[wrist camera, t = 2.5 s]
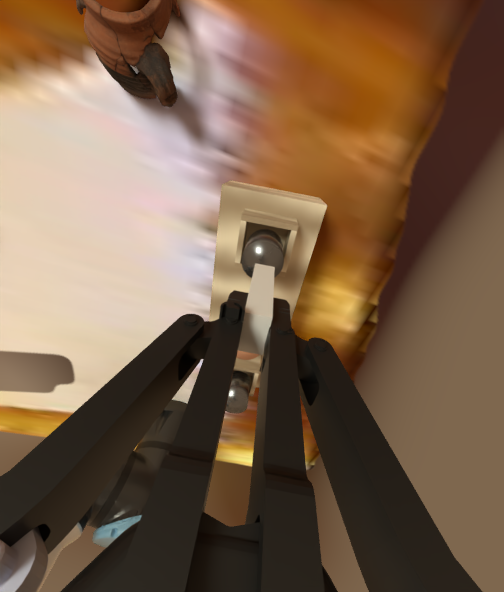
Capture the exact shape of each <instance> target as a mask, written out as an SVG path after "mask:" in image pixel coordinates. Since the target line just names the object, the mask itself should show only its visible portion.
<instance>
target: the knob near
mask: <svg viewBox="0 0 504 592" xmlns="http://www.w3.org/2000/svg"><path fill="white" fill-rule="evenodd" d="M255 263H257V264H262V265H267V266H272V267H275V272H274V278H275V277H276V276H277V275H278V274H279V273H280V272H281V270H282V268H283V264H284V259H283V244H282V240H281V238H280V237H279V235H278V234H277V233H275V232H274V231H272V230H269V229H260V230H257V231H255V232H254V233H252V234H251V235H250V237H249V239H248V241H247V244H246V246H245V249H244V252H243V255H242V258H241V264H242V268H243V270H244V272H245V273H246V274H247V275H248V276H249V277H250V278H252V276H253V271H254V267H255Z"/></svg>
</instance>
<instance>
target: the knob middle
mask: <svg viewBox="0 0 504 592" xmlns="http://www.w3.org/2000/svg"><path fill="white" fill-rule="evenodd" d="M258 356H259V354H254V353H248V352H243V351H238V352H237V357H236V358H239V359H242V360H251V359H254V358H256V357H258Z"/></svg>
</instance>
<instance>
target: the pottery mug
mask: <svg viewBox="0 0 504 592" xmlns="http://www.w3.org/2000/svg"><path fill="white" fill-rule="evenodd" d="M76 1H77V9H78V11H79V13H80V14H81V15H82V14H83V8H86V13H85V20H84V30H85V32H86V34H87V37H88V40H89V43H90V44H91V46H92V47H93V49H94V50H95V51H96V54H97V56H98V58H99V60H100V61H101V63H102V64H103V66H104V67H105V69H106V70H107V71H108V72H109V74H110V75H111V76H112V77H113V78H114V79H115V80H116V81H117V82H118V83H119V84H120V85H121V86H122V87H123V88H124V89H125V90H126V91H128V92H129V93H130V94H132V95H134V96H137V97H139V98H144V99H146V98H147V99H151V98H156V95H157V96H158V98H159V100H160V102H161V104H162V105H163V106H168V107H172V106H173V104H175V102H176V100H177V91H176V87H175V84H174V81H173V75H172V73H171V70H170V68H171V66H170V62H169V56H168V54H167V53H166V52H165V51H164V49H163V48H162V46H161V45H159V44H158V43H151V40H152V37H153V35H154V34H155V35H156V36H157V37H158V38H159V39H162V38H163V36H164V33H165V30H166V27H167V26H168V23H169V19H170V14H171V9H172V10H173V11H174V13H175V14H176V15H177V16H180V12H179V7H178V5H177V2H176V0H150V1H149V2H148V3H147V4H146V5H145V6H144V7H143V8H142V9H141V10H138V11H135V12H127V13H126V12H116V11H112V10H110V9H107V8H105V7H102V6H101V5H100V4H99V3H98V2H96V1H95V0H76ZM130 65H131V66H134V67H135V66H136V67H137V69H138V71H139V73H138V74H136V73H135V71H134V70H133V69H132V67H131V66H130ZM155 94H156V95H155Z"/></svg>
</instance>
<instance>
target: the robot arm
mask: <svg viewBox="0 0 504 592" xmlns="http://www.w3.org/2000/svg"><path fill="white" fill-rule="evenodd" d="M274 272H275V267H272V266H267V265H262V264H257V263H255V267H254V271H253V276H252V280H251V285H250V289H249V293H245V292H240V291H235V290H234V291H233V292H231V293H230V294H229V297H228V300H227V302H224V303H222V304H221V306H220V314H219V319H217V320H215V321H206V322H204V320H203V318H202V317H200V316H199V315H195V314H186V315H183V316H181V317H180V318H179V319H178V320H177V321H175V322H174V323H173V324H172V325H171V326H170V327H169V328H168V329H167V330H165V331H164V332H163V333H162V334H161V335H160V336H159V337H158V338H157V339H155V340H154V341H153V342H152V343H151V344H150V345H149V346H148V347H147V348H145V349H144V350H143V351H142V352H141V353H140V354H139V355H138V356H137V357H135V358H134V359H133V360H132V361H131V362H130V363H129V364H128V365H127V366H125V367H124V368H123V369H122V370H121V371H120V372H119V373H118V374H117V375H115V376H114V377H113V378H112V379H111V380H110V381H109V382H108V383H107V384H105V385H104V386H103V387H102V388H101V389H100V390H99V391H98V392H97V393H95V394H94V395H93V396H92V397H91V398H90V399H89V400H88V401H87V402H85V403H84V404H83V405H82V406H81V407H80V408H79V409H78V410H77V411H75V412H74V413H73V414H72V415H71V416H70V417H69V418H68V419H67V420H65V421H64V422H63V423H62V424H61V425H60V426H59V427H58V428H57V429H55V430H54V431H53V432H52V433H51V434H50V435H49V436H48V437H47V438H45V439H44V440H43V441H42V442H41V443H40V444H39V445H38V446H37V447H35V448H34V449H33V450H32V451H31V452H30V453H29V454H28V455H27V456H26V457H24V458H23V459H22V460H21V461H20V462H19V463H18V464H17V465H15V466H14V467H13V468H12V469H11V470H10V471H8V472H7V473H5V474H4V475H2V476H0V592H39V590H40V589H41V587H42V585H43V583H44V581H45V579H46V578H47V576H48V574H49V572H50V570H51V568H52V566H53V565H54V563H55V561H56V559H57V557H58V555H59V553H60V552H61V550H62V549H63V548H64V547H66V546H67V545H69V544H70V543H72V542H73V541H75V540H76V539H78V538H79V537H80V535H81V534H82V532H83V530H84V528H85V526H86V525H89V526H92V527H94V528H96V530H95V531H94V533H93V542H94V543H95V544H98V545H100V546H102V547H106V549H105V550H103V552H102V553H100V554H99V555H98V556H97V557H96V558H95V559H94V560H93V561H92V562H91V563H90V564H89V565H88V566H87V567H86V568H85V569H84V570H83V571H82V572H80V573H79V574H78V575H77V576H76V577H75V578H74V579H73V580H72V581H71V582H70V583H69V584H68V585H67V586H66V587H65V588H64V589H63V590H62V591H61V592H338V591H337V590H336V588H335V586H334V584H333V582H332V580H331V578H330V577H329V575H328V573H327V572H326V570H325V569H324V567H323V566H322V564H321V563H322V562H321V554H320V544H319V533H318V524H317V514H316V503H315V495H314V489H313V486H312V483H311V482H310V481H309V480H308V478H307V475H306V465H305V453H304V441H303V428H302V416H301V404H300V396H301V399H302V402H303V405H304V407H305V410H306V413H307V416H308V419H309V422H310V425H311V428H312V431H313V434H314V437H315V440H316V442H317V445H318V448H319V451H320V454H321V457H322V460H323V463H324V466H325V469H326V471H327V474H328V477H329V480H330V483H331V486H332V489H333V492H334V495H335V498H336V501H337V504H338V507H339V510H340V512H341V515H342V518H343V521H344V524H345V527H346V530H347V533H348V536H349V539H350V542H351V545H352V547H353V550H354V553H355V556H356V559H357V562H358V564H359V567H360V570H361V572H362V575H363V577H364V580H365V583H366V585H367V588H368V590H369V592H482V591H481V589H480V588H479V587H478V586H477V585H476V583H475V582H474V581H473V580H472V578H471V577H470V576H469V575H468V574H467V572H466V571H465V570H464V569H463V567H462V566H461V565H460V564H459V562H458V561H457V560H456V559H455V558H454V556H453V554H452V553H451V551H450V549H449V547H448V546H447V544H446V542H445V540H444V539H443V537H442V535H441V533H440V532H439V530H438V528H437V527H436V525H435V524H434V522H433V520H432V518H431V516H430V515H429V513H428V511H427V509H426V508H425V506H424V504H423V502H422V501H421V499H420V497H419V496H418V494H417V492H416V490H415V489H414V487H413V485H412V483H411V482H410V480H409V478H408V477H407V475H406V473H405V471H404V470H403V468H402V466H401V465H400V463H399V461H398V459H397V458H396V456H395V454H394V452H393V451H392V449H391V448H390V446H389V444H388V442H387V441H386V439H385V437H384V435H383V434H382V432H381V430H380V428H379V427H378V425H377V423H376V421H375V420H374V418H373V416H372V415H371V413H370V411H369V410H368V408H367V406H366V404H365V403H364V401H363V399H362V397H361V396H360V394H359V392H358V391H357V389H356V387H355V385H354V384H353V382H352V380H351V378H350V377H349V375H348V373H347V372H346V370H345V368H344V366H343V365H342V363H341V361H340V359H339V358H338V356H337V354H336V353H335V351H334V349H333V347H332V346H331V345H330V344H329V343H328V342H327V341H325V340H323V339H321V338H311V339H309V341H305V340H303V339H301V338H299V337H297V336H296V335H295V332H294V330H293V329H292V328H291V316H290V304H289V303H288V302H287V300H284V299H279V298H274V297H273V296H274ZM238 351H243V352H248V353H254V354H259V355H263V352H264V355H263V359H262V363H261V366H260V370H259V371H260V372H261V375H260V386H259V397H258V408H257V419H256V430H255V442H254V453H253V464H252V476H251V486H250V487H251V488H250V497H249V506H248V511H247V517H246V523H245V525H240V526H234V527H229V526H226V525H225V524H223V523H221V522H220V521H218V520H216V519H214V518H213V517H211V516H209V515H208V514H206V513H204V511H205V506H206V501H207V496H208V491H209V486H210V481H211V476H212V472H213V467H214V462H215V457H216V453H217V448H218V443H219V438H220V434H221V429H222V424H223V419H224V414H225V410H226V405H227V400H228V395H229V391H230V386H231V381H232V376H233V371H234V367H235V362H236V357H237V352H238ZM201 359H204V360H203V363H202V366H201V368H200V371H199V374H198V377H197V379H196V382H195V385H194V387H193V390H192V393H191V396H190V398H189V401H188V404H185V403H182V402H179V401H174V400H171V399H172V398H173V397H174V395H175V394H176V393H177V391H178V390H179V389H180V387H181V386H182V385H183V383H184V382H185V381H186V379H187V378H188V377H189V375H190V374H191V373H192V371H193V370H194V369H195V367H196V366H197V365H198V363H199V362H200V360H201ZM136 446H137V448H136V450H135V451H133V450H134V449H135V447H136Z"/></svg>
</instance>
